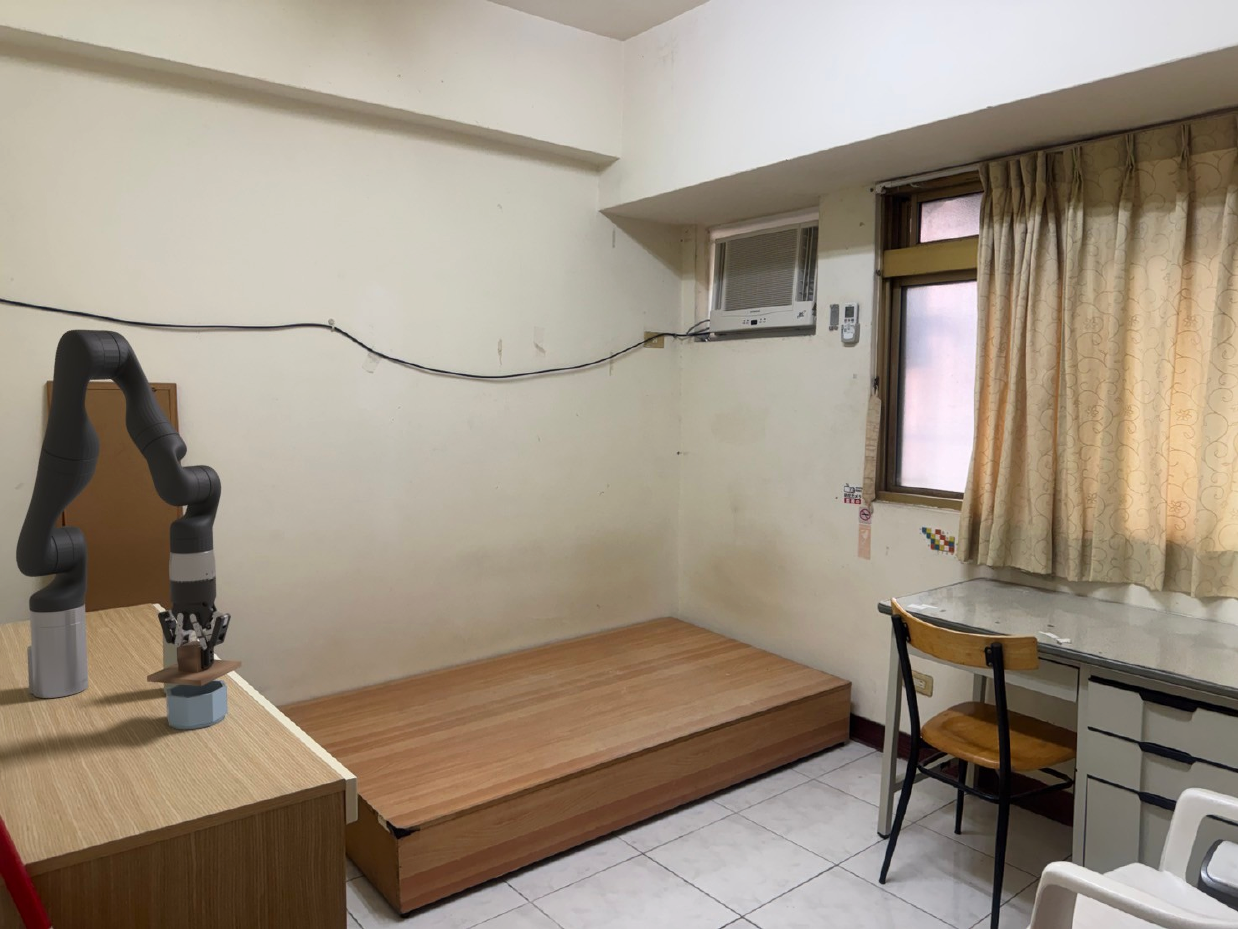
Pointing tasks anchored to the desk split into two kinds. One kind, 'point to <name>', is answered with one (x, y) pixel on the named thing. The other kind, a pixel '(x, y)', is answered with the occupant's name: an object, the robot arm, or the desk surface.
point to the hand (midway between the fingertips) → (195, 666)
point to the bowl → (196, 705)
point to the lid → (192, 668)
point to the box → (172, 655)
